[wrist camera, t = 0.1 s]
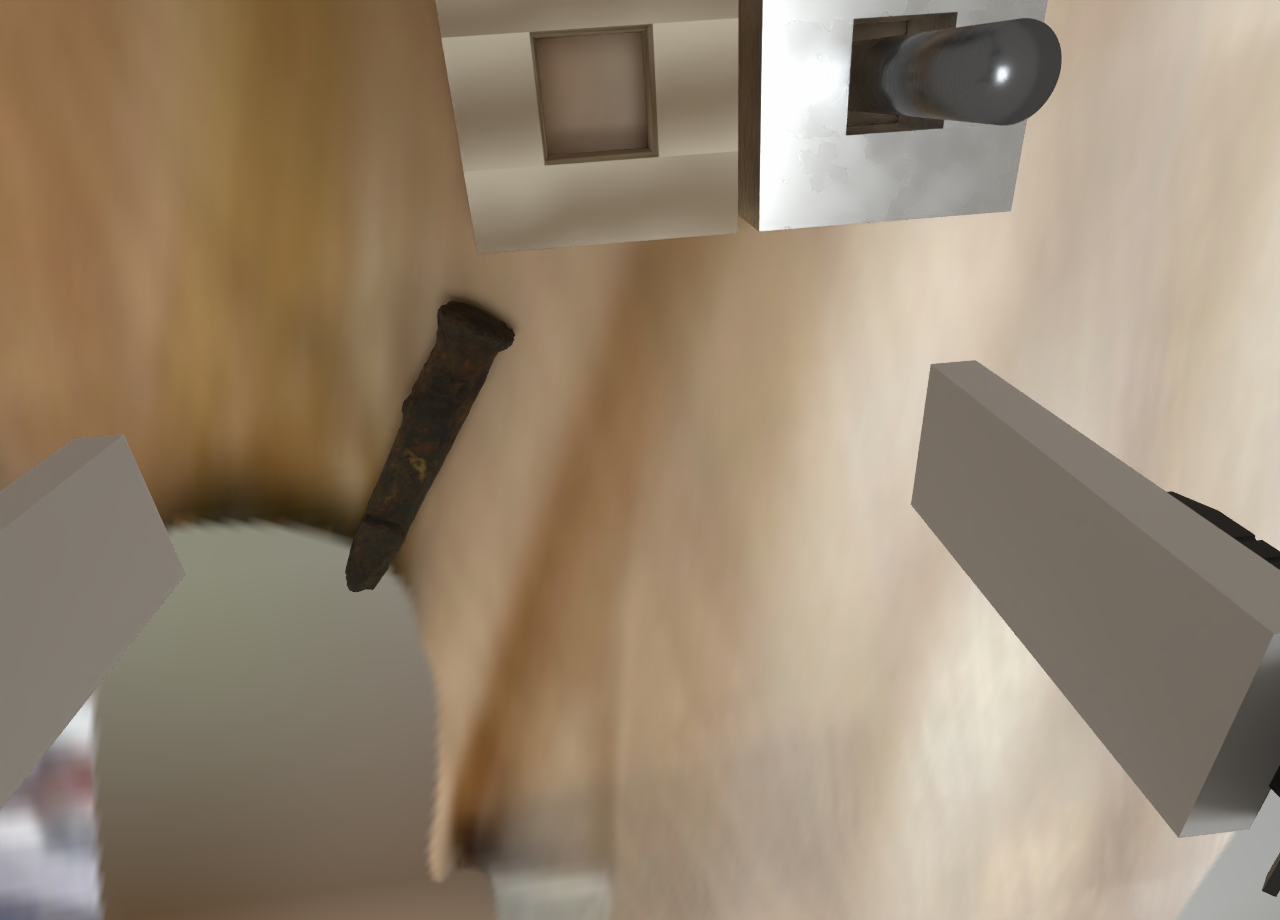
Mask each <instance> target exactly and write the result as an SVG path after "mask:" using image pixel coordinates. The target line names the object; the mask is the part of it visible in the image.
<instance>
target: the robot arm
mask: <svg viewBox="0 0 1280 920" xmlns="http://www.w3.org/2000/svg"><path fill="white" fill-rule="evenodd" d="M911 505H912V506H913V508H914V509H915V510H916V511H917V512H918V514H919V515H920V516H921V517H922V519H923V520H924V521H925V522H926V524H927V525H928V526H929V527H930V529H931V530H932V531H933V532H934V534H935V535H936V536H937V537H938V539H939V540H940V541H941V542H942V544H943V545H944V546H945V547H946V549H947V550H948V551H949V552H950V554H951V555H952V556H953V557H954V559H955V560H956V561H957V562H958V564H959V565H960V566H961V567H962V569H963V570H964V571H965V572H966V574H967V575H968V576H969V577H970V578H971V580H972V581H973V582H974V583H975V585H976V586H977V587H978V588H979V590H980V591H981V592H982V593H983V595H984V596H985V597H986V598H987V600H988V601H989V602H990V603H991V605H992V606H993V607H994V608H995V610H996V611H997V612H998V613H999V615H1000V616H1001V617H1002V618H1003V620H1004V621H1005V622H1006V623H1007V625H1008V626H1009V627H1010V628H1011V630H1012V631H1013V632H1014V633H1015V635H1016V636H1017V637H1018V638H1019V640H1020V641H1021V642H1022V643H1023V644H1024V646H1025V647H1026V648H1027V649H1028V651H1029V652H1030V653H1031V654H1032V656H1033V657H1034V658H1035V659H1036V661H1037V662H1038V663H1039V664H1040V666H1041V667H1042V668H1043V669H1044V671H1045V672H1046V673H1047V674H1048V676H1049V677H1050V678H1051V679H1052V681H1053V682H1054V683H1055V684H1056V686H1057V687H1058V688H1059V689H1060V691H1061V692H1062V693H1063V694H1064V696H1065V697H1066V698H1067V699H1068V701H1069V702H1070V703H1071V704H1072V706H1073V707H1074V708H1075V709H1076V710H1077V712H1078V713H1079V714H1080V715H1081V717H1082V718H1083V719H1084V720H1085V722H1086V723H1087V724H1088V725H1089V727H1090V728H1091V729H1092V730H1093V732H1094V733H1095V734H1096V735H1097V737H1098V738H1099V739H1100V740H1101V742H1102V743H1103V744H1104V745H1105V747H1106V748H1107V749H1108V750H1109V752H1110V753H1111V754H1112V755H1113V757H1114V758H1115V759H1116V760H1117V762H1118V763H1119V764H1120V765H1121V767H1122V768H1123V769H1124V770H1125V772H1126V773H1127V774H1128V775H1129V776H1130V778H1131V779H1132V780H1133V781H1134V783H1135V784H1136V785H1137V786H1138V788H1139V789H1140V790H1141V791H1142V793H1143V794H1144V795H1145V796H1146V798H1147V799H1148V800H1149V801H1150V803H1151V804H1152V805H1153V806H1154V808H1155V809H1156V810H1157V811H1158V813H1159V814H1160V815H1161V816H1162V818H1163V819H1164V820H1165V821H1166V823H1167V824H1168V825H1169V826H1170V828H1171V829H1172V830H1173V831H1174V833H1175V834H1176V835H1177V836H1178V838H1181V837H1190V836H1198V835H1206V834H1215V833H1223V832H1231V831H1239V830H1247V829H1250V827H1251V825H1252V823H1253V822H1254V820H1255V818H1256V816H1257V814H1258V812H1259V810H1260V809H1261V807H1262V805H1263V803H1264V801H1265V799H1266V797H1267V795H1268V793H1269V792H1270V790H1271V789H1272V790H1273V791H1274V792H1275V793H1276V794H1277V795H1278V796H1279V797H1280V551H1278V550H1277V549H1275V548H1274V547H1272V546H1271V545H1269V544H1268V543H1266V542H1265V541H1263V540H1258V541H1257V540H1256V539H1255V535H1254V534H1253V533H1251V532H1250V531H1248V530H1247V529H1245V528H1244V527H1242V526H1241V525H1239V524H1238V523H1236V522H1235V521H1233V520H1232V519H1230V518H1229V517H1227V516H1226V515H1224V514H1223V513H1221V512H1219V511H1218V510H1215V509H1213V508H1211V507H1208V506H1206V505H1203V504H1201V503H1199V502H1196V501H1194V500H1191V499H1189V498H1187V497H1184V496H1182V495H1179V494H1177V493H1175V492H1166V491H1164V490H1163V489H1161V488H1160V487H1158V486H1157V485H1156V484H1154V483H1153V482H1151V481H1150V480H1148V479H1147V478H1145V477H1144V476H1142V475H1141V474H1140V473H1138V472H1137V471H1135V470H1134V469H1132V468H1131V467H1129V466H1128V465H1127V464H1125V463H1124V462H1122V461H1121V460H1119V459H1118V458H1116V457H1115V456H1113V455H1112V454H1111V453H1109V452H1108V451H1106V450H1105V449H1103V448H1102V447H1100V446H1099V445H1097V444H1096V443H1095V442H1093V441H1092V440H1090V439H1089V438H1087V437H1086V436H1084V435H1083V434H1082V433H1080V432H1079V431H1077V430H1076V429H1074V428H1073V427H1071V426H1070V425H1068V424H1067V423H1066V422H1064V421H1063V420H1061V419H1060V418H1058V417H1057V416H1055V415H1054V414H1053V413H1051V412H1050V411H1048V410H1047V409H1045V408H1044V407H1042V406H1041V405H1039V404H1038V403H1037V402H1035V401H1034V400H1032V399H1031V398H1029V397H1028V396H1026V395H1025V394H1024V393H1022V392H1021V391H1019V390H1018V389H1016V388H1015V387H1013V386H1012V385H1010V384H1009V383H1008V382H1006V381H1005V380H1003V379H1002V378H1000V377H999V376H997V375H996V374H994V373H993V372H992V371H990V370H989V369H987V368H986V367H984V366H983V365H981V364H980V363H979V362H977V361H976V360H974V361H962V362H951V363H939V364H931V367H930V374H929V381H928V388H927V395H926V403H925V410H924V417H923V424H922V431H921V438H920V445H919V452H918V459H917V467H916V474H915V481H914V488H913V495H912V502H911ZM185 575H186V574H185V571H184V569H183V567H182V565H181V563H180V560H179V558H178V556H177V553H176V551H175V549H174V547H173V544H172V542H171V540H170V538H169V535H168V533H167V531H166V529H165V526H164V524H163V522H162V520H161V517H160V515H159V513H158V510H157V508H156V506H155V504H154V501H153V499H152V497H151V495H150V492H149V490H148V488H147V486H146V483H145V481H144V479H143V477H142V474H141V472H140V470H139V468H138V465H137V463H136V461H135V459H134V456H133V454H132V452H131V450H130V447H129V445H128V443H127V441H126V438H125V436H124V434H122V435H110V436H98V437H87V438H75V439H73V440H71V441H70V442H69V443H67V444H66V445H64V446H63V447H62V448H60V449H59V450H57V451H56V452H55V453H53V454H52V455H50V456H49V457H48V458H46V459H45V460H43V461H42V462H41V463H39V464H38V465H36V466H35V467H34V468H32V469H31V470H29V471H28V472H27V473H25V474H24V475H22V476H21V477H20V478H18V479H17V480H15V481H14V482H13V483H11V484H10V485H8V486H7V487H6V488H4V489H3V490H1V491H0V810H1V809H2V808H3V806H4V805H5V804H6V803H7V801H8V800H9V799H10V798H11V796H12V795H13V794H14V792H15V791H16V790H17V789H18V787H19V786H20V785H21V784H22V782H23V781H24V780H25V778H26V777H27V776H28V775H29V773H30V772H31V771H32V770H33V768H34V767H35V766H36V764H37V763H38V762H39V761H40V759H41V758H42V757H43V755H44V754H45V753H46V752H47V750H48V749H49V748H50V747H51V745H52V744H53V743H54V741H55V740H56V739H57V738H58V736H59V735H60V734H61V733H62V731H63V730H64V729H65V727H66V726H67V725H68V724H69V722H70V721H71V720H72V719H73V717H74V716H75V715H76V713H77V712H78V711H79V710H80V708H81V707H82V706H83V705H84V703H85V702H86V701H87V699H88V698H89V697H90V696H91V694H92V693H93V692H94V691H95V689H96V688H97V687H98V685H99V684H100V683H101V682H102V680H103V679H104V678H105V677H106V675H107V674H108V673H109V671H110V670H111V669H112V668H113V666H114V665H115V664H116V662H117V661H118V660H119V659H120V657H121V656H122V655H123V653H124V652H125V651H126V650H127V648H128V647H129V646H130V645H131V643H132V642H133V641H134V639H135V638H136V637H137V636H138V634H139V633H140V632H141V631H142V629H143V628H144V627H145V626H146V624H147V623H148V622H149V620H150V619H151V618H152V617H153V615H154V614H155V613H156V612H157V610H158V609H159V608H160V606H161V605H162V604H163V603H164V601H165V600H166V599H167V598H168V596H169V595H170V594H171V592H172V591H173V590H174V589H175V587H176V586H177V585H178V584H179V582H180V581H181V580H182V578H183V577H184V576H185ZM1262 891H1263V892H1266V893H1268V894H1270V895H1272V896H1277V894H1278V893H1279V891H1280V853H1279V855H1278V857H1277V859H1276V860H1275V862H1274V864H1273V865H1272V867H1271V869H1270V871H1269V872H1268V874H1267V877H1266V880H1265V883H1264V887H1263V889H1262Z"/></svg>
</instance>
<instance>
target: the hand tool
mask: <svg viewBox="0 0 1280 920" xmlns="http://www.w3.org/2000/svg"><path fill="white" fill-rule="evenodd" d="M437 317H438V331H437V340H436V345H435V347H434V349H433V350H432V352H431V354H430V356H429V359H428V361H427V362H426V364H425V365H424V367H423V369H422V371H421V373H420V375H419V378H418V380H417V381H416V382H415V384H414V386H413V389H412V393H411V394H410V395H409V397H408V398H407V399H406V400H405V401H404V403H403V406H402V413H403V421H402V425H401V427H400V429H399V431H398V434H397V437H396V439H395V442H394V444H393V447H392V449H391V452H390V454H389V457H388V459H387V462H386V464H385V467H384V469H383V471H382V473H381V476H380V478H379V481H378V483H377V485H376V487H375V489H374V491H373V494H372V496H371V498H370V500H369V503H368V507H367V509H366V513H365V515H364V517H363V519H362V521H361V523H360V525H359V526H358V529H357V532H356V535H355V538H354V540H353V543H352V546H351V550H350V554H349V558H348V562H347V566H346V571H345V572H346V580H347V586H348V588H349V590H350V591H353V592H359V591H362V590H365V589H371V590H373V589H374V588H375V587H376V585H377V584H378V582H379V581H380V580H381V578H382V576H383V575H384V574H385V573H386V571H387V570H388V568H389V563H390V561H391V560H392V559H393V557H394V555H395V554H396V553H397V552H398V550H399V549H400V548H401V546H402V544H403V543H404V541H405V538H406V535H407V532H408V529H409V527H410V525H411V523H412V522H413V520H414V518H415V516H416V514H417V512H418V510H419V508H420V506H421V504H422V502H423V500H424V498H425V495H426V493H427V492H428V490H429V489H430V487H431V485H432V483H433V481H434V479H435V477H436V475H437V474H438V472H439V470H440V468H441V466H442V464H443V462H444V460H445V458H446V456H447V454H448V452H449V450H450V449H451V447H452V445H453V442H454V440H455V438H456V436H457V434H458V432H459V430H460V428H461V426H462V424H463V423H464V421H465V419H466V417H467V415H468V413H469V411H470V409H471V406H472V404H473V402H474V401H475V399H476V397H477V395H478V393H479V391H480V389H481V387H482V386H483V384H484V382H485V380H486V377H487V374H488V371H489V369H490V366H491V364H492V362H493V360H494V358H495V356H496V355H497V353H498V352H500V351H502V350H505V349H507V348H508V347H509V346H511V345H512V343H513V341H514V336H515V334H514V332H513V330H512V329H510V328H509V327H507V325H506V324H505V323H503V322H502V321H499V320H497V319H495V318H494V317H492V316H491V315H489V314H487V313H486V312H484V311H482V310H480V309H478V308H476V307H473V306H470V305H467V304H463V303H458V302H454V301H450V302H448V303H447V305H442V306H441V307H440V308H439V309H438V315H437Z"/></svg>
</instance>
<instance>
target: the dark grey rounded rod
mask: <svg viewBox="0 0 1280 920" xmlns="http://www.w3.org/2000/svg"><path fill="white" fill-rule="evenodd" d="M1060 70H1061V48H1060V44H1059V41H1058V39H1057V37H1056V35H1055V33H1054V32H1053V30H1052V29H1051V28H1050V27H1049V26H1048V25H1046V24H1045V23H1043V22H1042V21H1039V20H1037V19H1032V18H1020V19H1013V20H1006V21H999V22H992V23H985V24H978V25H971V26H964V27H957V28H950V29H943V30H935V31H928V32H921V33H914V34H907V35H900V36H893V37H886V38H879V39H872V40H865V41H858V42H854V43H852V51H851V65H850V80H849V95H848V110H853V111H863V112H872V113H882V114H892V115H902V116H912V117H922V118H931V119H941V120H951V121H961V122H971V123H980V124H990V125H1000V126H1006V125H1013V124H1016V123H1019V122H1021V121H1024V120H1025V119H1027V118H1029V117H1030V116H1032V115H1033V114H1034V113H1036V112H1037V111H1038V110H1039V109H1040V108H1041V107H1042V106H1043V105H1044V104H1045V102H1046V101H1047V100H1048V98H1049V97H1050V95H1051V93H1052V92H1053V90H1054V88H1055V86H1056V83H1057V81H1058V78H1059V74H1060Z"/></svg>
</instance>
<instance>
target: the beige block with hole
mask: <svg viewBox="0 0 1280 920" xmlns="http://www.w3.org/2000/svg"><path fill="white" fill-rule="evenodd" d="M435 3H436V9H437V15H438V21H439V27H440V33H441V39H442V45H443V51H444V57H445V63H446V69H447V75H448V81H449V87H450V93H451V99H452V105H453V111H454V117H455V123H456V129H457V135H458V141H459V147H460V153H461V159H462V165H463V171H464V177H465V183H466V189H467V195H468V202H469V208H470V214H471V220H472V226H473V232H474V238H475V244H476V250H477V254H485V253H497V252H509V251H522V250H534V249H547V248H559V247H571V246H584V245H596V244H609V243H621V242H634V241H646V240H658V239H671V238H683V237H696V236H708V235H721V234H733V233H738V0H435ZM641 31H642V37H643V56H644V75H645V95H646V114H647V133H648V148H640V149H626V150H613V151H599V152H586V153H573V154H559V155H548V151H547V142H546V133H545V124H544V115H543V107H542V98H541V89H540V80H539V71H538V62H537V53H536V45H535V39H537V38H552V37H566V36H581V35H596V34H611V33H626V32H641Z"/></svg>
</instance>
